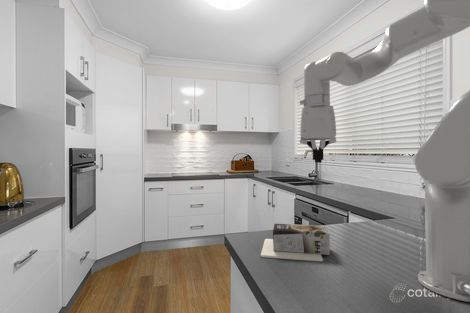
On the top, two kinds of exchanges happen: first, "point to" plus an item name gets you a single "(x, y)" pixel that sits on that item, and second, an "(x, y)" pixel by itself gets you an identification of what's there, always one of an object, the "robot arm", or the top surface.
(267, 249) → the mat
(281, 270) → the top surface
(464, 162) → the robot arm
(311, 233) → the coffee box
